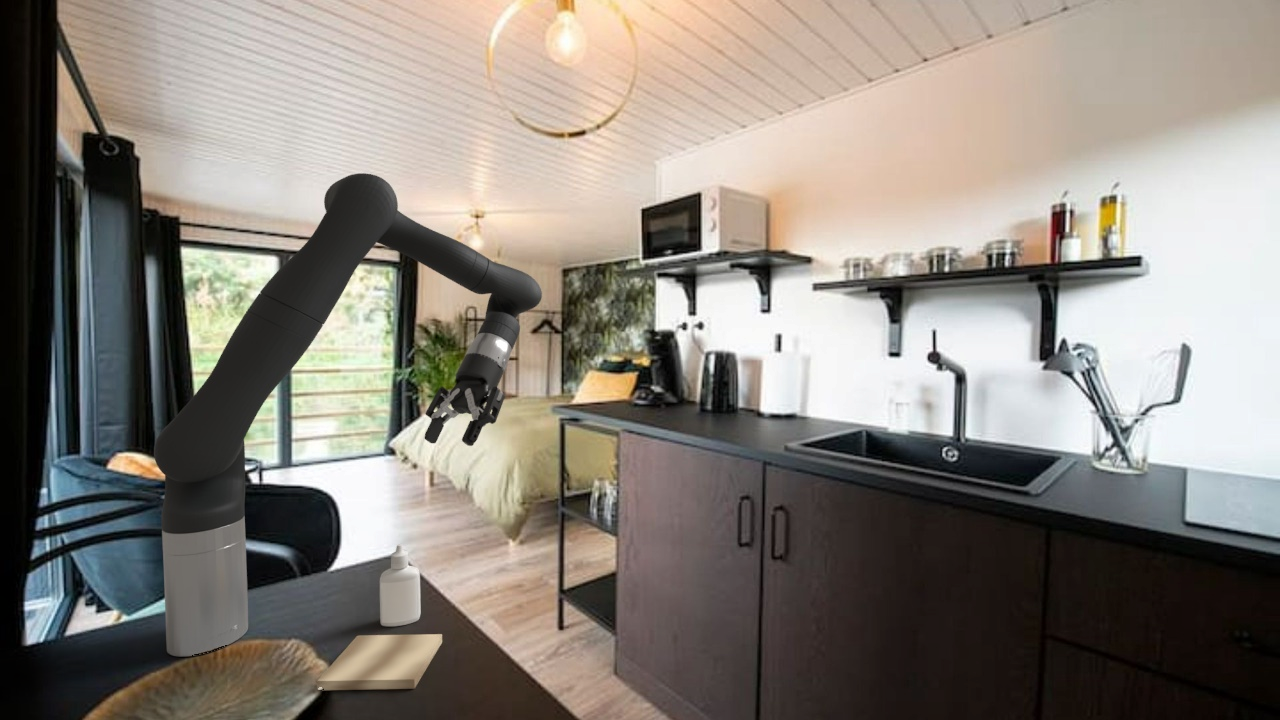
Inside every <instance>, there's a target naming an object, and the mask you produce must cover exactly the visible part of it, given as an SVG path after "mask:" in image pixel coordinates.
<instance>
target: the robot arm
mask: <svg viewBox="0 0 1280 720" xmlns="http://www.w3.org/2000/svg"><path fill="white" fill-rule="evenodd" d="M323 202H324V210H325V213H324V215H323V217H322V218H321V221H320V222H319V223H318V225H317V227H316V229H315V230H314V232H313V234H312V235H311V237H310V238H309V239H308V240H307V241H306V243H304V244H303V246H302V247H301V248H299V250H298V251H297V252H296V253H295V254H294V255H293V256H292V257H290V258H289V259H288V260H287V261H286V262H285V263H284V264H283V265H282V266H281V267H280V268H279V269H278V270H277V271H276V272H275V273H274V275H273V276H272V277H271V278H270V279H269V280H268V281H267V283H266V284H265V285H264V287H263V288H262V289H261V290H260V292H259V293H258V294H257V295H256V297H255V299H254V300H253V302H251V305H250V306H249V307H248V309H247V310H246V312H245V313H244V315H243V316H242V318H241V320H240V321H239V322H238V325H237V326H236V328H235V329H234V331H233V332H232V334H231V336H230V338H229V339H228V341H227V343H226V344H225V347H224V349H223V350H222V352H221V354H220V356H219V359H218V360H217V362H216V363H215V366H214V367H213V369H212V371H211V373H210V374H209V376H208V377H207V379H206V380H205V381H204V383H203V384H202V385H201V387H200V388H199V389H198V390H197V391H196V393H195V394H194V395H193V396H192V397H191V399H190V400H189V401H188V403H187V402H186V403H187V404H186V405H184V406H183V408H182V409H181V410H180V411H179V413H177V415H176V416H175V417H174V418H173V419H172V420H171V421H170V422H169V423H168V424H167V425H166V426H165V427H164V428H163V429H162V430H161V431H160V432H159V435H158V436H157V438H156V440H155V443H154V447H153V457H154V460H155V463H156V466H157V468H158V469H159V471H161V473H162V474H163V475H164V481H165V482H164V484H165V485H164V499H163V504H162V507H161V508H162V509H161V518H160V519H161V521H160V523H161V538H162V541H161V542H162V543H161V544H162V556H163V557H162V558H163V559H162V563H163V564H162V565H163V583H164V584H163V585H164V613H165V637H166V639H165V640H166V642H165V643H166V652H167V654H168V655H171V656H173V657H180V658H181V657H192V655H193V656H195V655H194V654H198V653H201V652H205V651H207V650H212V649H214V648H218V647H221V646H224V647H226V646H225V645H227V646H228V645H230V644H232V643H234V642H236V641H238V640H239V639H240V638H242V637H243V636H244V635H245V634H246V633H247V631H249V630H248V629H249V609H248V608H249V607H248V605H249V604H248V601H249V600H248V576H247V575H248V572H247V568H248V567H247V548H246V547H247V545H246V540H247V539H246V522H245V521H246V520H245V519H246V517H245V516H246V515H245V514H246V513H245V500H246V499H245V498H246V452H245V451H246V447H245V437H246V435H247V434H248V432H249V430H250V428H251V427H252V424H253V422H254V421H255V419H256V416H258V413H259V411H260V410H261V408H262V407H263V405H264V403H265V401H266V400H267V399H268V397H269V396H270V395H271V394H272V392H273V391H274V390H275V388H277V386H279V384H280V383H281V382H282V381H283V380H284V378H286V376H287V375H288V374H289V373H290V372H291V370H292V369H293V368H294V367H295V366H296V364H297V363H298V362H299V361H300V359H301V358H302V356H303V355H304V354H305V353H306V351H307V350H308V349H309V347H310V346H311V345H312V343H313V342H314V340H315V339H316V338H317V336H318V334H319V332H320V331H321V329H322V328H323V326H324V325H325V324H326V322H327V320H328V319H329V316H330V315H331V313H332V311H333V310H334V308H335V307H336V305H337V303H338V301H339V299H340V298H341V296H342V295H343V292H344V291H345V290H346V287H347V286H348V284H349V282H350V280H351V278H352V277H353V274H354V273H355V271H356V269H357V268H358V267H359V265H360V263H361V262H362V261H363V259H364V258H365V257H366V256H367V255H368V254H369V252H370V251H371V250H372V248H373V247H374V246H375V245H376V244H380V245H383V247H387V248H390V249H392V250H394V251H396V252H398V253H401V254H402V255H405V256H407V257H409V258H411V259H413V260H414V261H416V262H418V263H420V264H422V265H423V266H425V267H428V268H429V269H430V270H432V271H434V272H436V273H438V274H440V275H441V276H443V277H444V278H447V279H448V280H450V281H452V282H454V283H456V284H458V285H459V286H461V287H463V288H464V289H465V290H466V289H467V290H468V291H470V292H473V293H475V294H478V295H488V294H490V295H489V299H488V302H487V306H486V311H485V319H484V320H483V322H482V324H481V326H480V328H479V330H478V332H477V335H475V337H474V339H473V340H472V342H471V344H469V346H468V349H467V351H466V352H465V355H464V357H463V360H462V361H461V362H460V365H459V367H458V369H457V371H456V372H455V381H456V382H455V385H454V386H453V387H452V388H451V389H446V388H445V387H444V386H440V387H439V388H438V389H437V391H436V393H435V395H434V396H433V399H432V401H431V402H430V404H429V406H428V408H427V409H426V411H425V415H426V416H427V417H428V418H430V420H431V422H430V423H429V425H428V426H427V429H426V431H425V433H424V439H425V441H427V443H430V444H436V443H437V441H438V439H439V437H440V434H442V431H443V429H444V426H445V424H446V423H447V422H449V420H451V419H455V418H456V417H458V416H459V415H460V414H462V415H463V414H469V415H471V418H472V419H471V420H469V422H468V425H467V427H466V429H465V431H464V434H463V436H462V439H461V442H463V443H464V444H465V445H466V446H469V447H472V446H474V444H475V443H476V441H477V440H478V438H479V437H480V434H481V431H482V429H483V427H485V426H487V424H491V425H493V424H495V423H496V422H497V419H498V417H499V414H500V412H501V408H502V405H503V404H504V400H505V398H506V394H505V393H504V392H503V391H502V390H501V389H500V388H499V384H500V381H501V380H502V377H503V375H504V373H505V370H506V368H507V366H508V363H509V362H510V357H511V354H512V351H513V349H514V346H515V344H516V342H517V340H518V337H519V335H520V330H521V326H520V323H519V321H518V320H517V317H518V316H519V315H520V314H523V313H525V312H528V311H530V310H533V309H534V308H536V307H538V306H539V304H540V302H541V300H542V297H543V293H542V289H541V286H540V284H539V283H538V282H537V281H536V279H535V278H534V277H533V276H531V275H529V274H528V273H526V272H524V271H523V270H519V269H516V268H513V267H511V266H508V265H505V264H502V263H499V262H495V261H492V260H491V259H489V258H488V257H486V256H485V255H483V254H482V253H480V252H478V251H477V250H475V249H473V248H472V247H470V246H468V245H466V244H465V243H462V242H461V241H459V240H456V239H455V238H452V237H450V236H448V235H445V234H443V233H440V232H437V231H435V230H433V229H431V228H429V227H426V225H425V226H424V225H422V224H420V223H419V222H417V221H415V220H414V219H412V218H410V217H408V216H406V215H405V214H404V213H402V212H401V211H399V210H398V208H399V207H398V204H399V203H398V199H397V194H396V192H395V191H394V189H393V187H392V185H390V183H389V182H388V181H386V180H385V179H384V178H382V177H381V176H378V175H377V174H376V175H375V174H372V173H365V172H364V173H359V172H358V173H352V174H349V175H347V176H345V177H343V178H341V179H338V180H337V181H335V182H333V183H332V184H331V186H329V187H328V189H327V190H326V192H325V195H324V200H323ZM450 405H451V408H450ZM436 408H437V410H436ZM435 410H436V411H435ZM444 413H445V414H444ZM442 415H443V416H442Z"/></svg>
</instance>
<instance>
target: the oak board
mask: <svg viewBox="0 0 1280 720" xmlns="http://www.w3.org/2000/svg"><path fill="white" fill-rule="evenodd" d="M442 643H443V634H442V633H437V634H436V633H435V634H430V633H429V634H428V633H426V634H377V635H376V634H372V635H371V634H370V635H368V634H367V635H366V634H365V635H357V636H355V638H354V639H353V640H352V641H351V642H350V644H349V645H348V646H347V647H346V648H345V649H344V650H343V651H342V653H340V655H339V656H337V658H336V659H335V660H334V661H333V663H332V664H330V666H329V667H327V669H326V670H325V671H324V672H323V674H322V675H321V676H320V677H319V678H318V679H317V681H316V689H317V688H319V687H322V688H324V690H323V691H353V690H354V691H355V690H363V691H365V690H408V689H410V690H411V689H413V690H414V689H416V687H417V686H418V683H419V682H420V680H421V678H422V677H423V675H424V674H425V672H426V670H427V668H428V667H429V665H430V663H431V661H432V660H433V659H434V657H435V655H436V654H437V652H438V651H439V649H440V646H442Z"/></svg>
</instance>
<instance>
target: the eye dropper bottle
mask: <svg viewBox="0 0 1280 720" xmlns="http://www.w3.org/2000/svg"><path fill="white" fill-rule="evenodd" d="M395 548H396V549H395V551H394V552H392V553H391V554H390V568H387V569H385V571H383V572H382V573H381V574H380V578H379V617H380V619H379V620H380V625H381V626H382V627H399V626H400V627H401V626H405V625H410V624H413V623H416V622H418V621H419V619H420V618H421V612H422V611H421V609H422V608H421V573H420V570H419V568H418V567H416V566H413V565H409V551H408V550H404V547H403V544H402V543H398V544H396V547H395Z"/></svg>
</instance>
